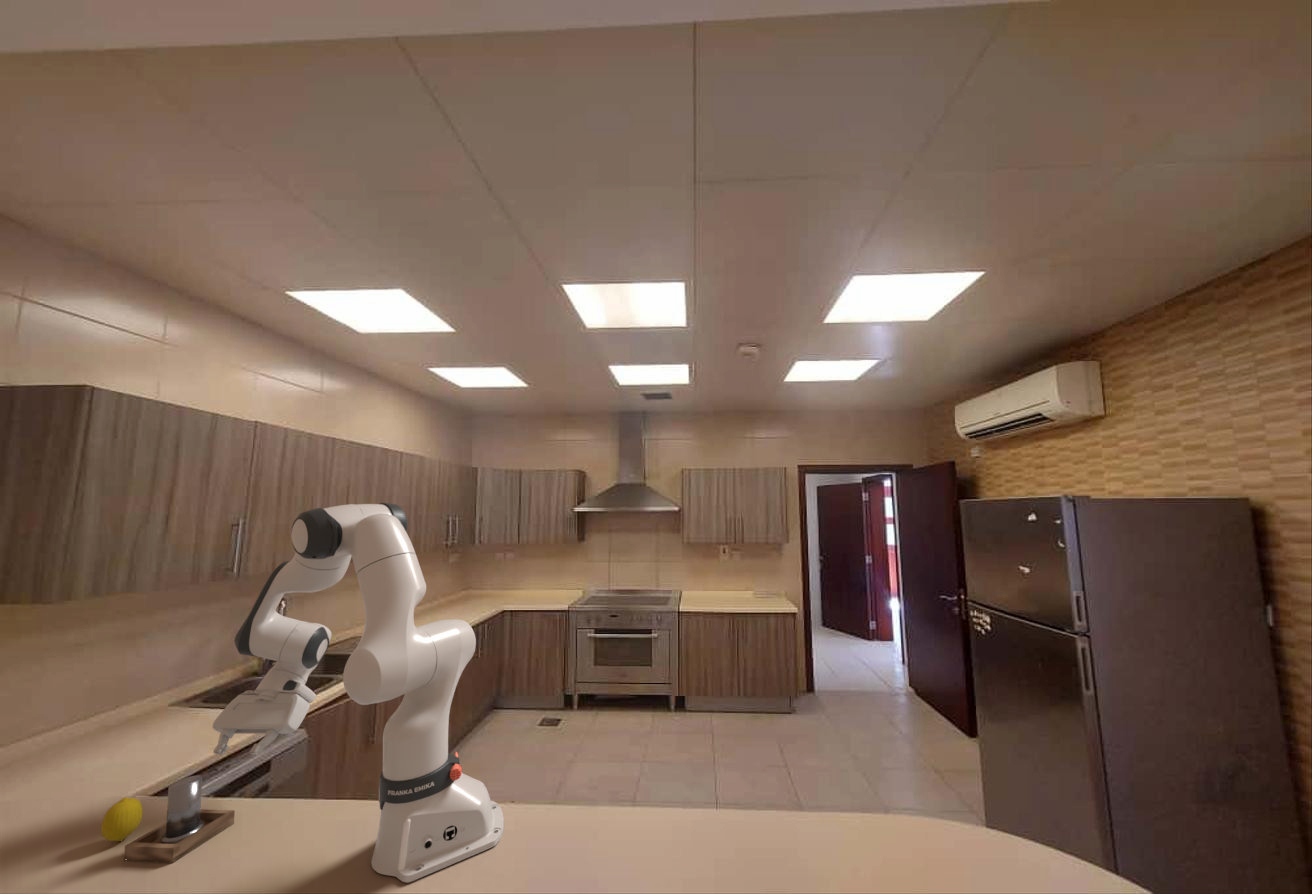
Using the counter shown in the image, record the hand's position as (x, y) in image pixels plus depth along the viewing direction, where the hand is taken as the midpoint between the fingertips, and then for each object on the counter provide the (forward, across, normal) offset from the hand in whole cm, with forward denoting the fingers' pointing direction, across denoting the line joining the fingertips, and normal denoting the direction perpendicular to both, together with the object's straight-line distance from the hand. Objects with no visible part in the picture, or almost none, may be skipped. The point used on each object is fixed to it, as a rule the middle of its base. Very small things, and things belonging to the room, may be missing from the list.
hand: (235, 754), depth 105 cm
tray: (+15, 0, +1) cm, 15 cm away
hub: (+14, 0, 0) cm, 14 cm away
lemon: (+16, -13, 0) cm, 21 cm away
